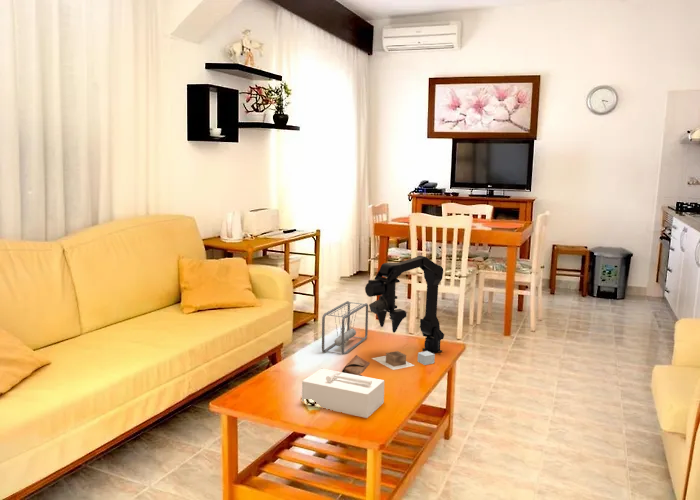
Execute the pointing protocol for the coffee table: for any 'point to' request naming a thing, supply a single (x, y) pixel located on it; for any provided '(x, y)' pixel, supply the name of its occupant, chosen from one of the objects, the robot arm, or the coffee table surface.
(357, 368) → the sunglasses case
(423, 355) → the top block
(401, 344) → the coffee table surface
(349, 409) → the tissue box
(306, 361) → the coffee table surface
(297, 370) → the coffee table surface
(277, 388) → the coffee table surface
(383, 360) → the plate
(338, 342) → the newton's cradle
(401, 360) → the base block
